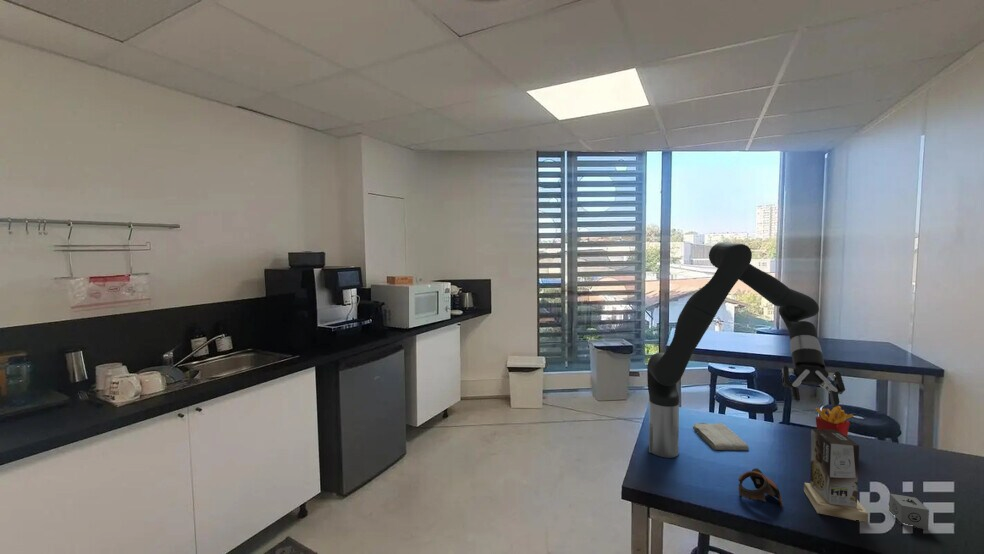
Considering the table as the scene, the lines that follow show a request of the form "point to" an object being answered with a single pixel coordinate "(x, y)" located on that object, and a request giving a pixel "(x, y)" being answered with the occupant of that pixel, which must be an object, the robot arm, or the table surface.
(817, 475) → the coffee box
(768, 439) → the table surface
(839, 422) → the french fries
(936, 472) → the table surface
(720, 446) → the washcloth
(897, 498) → the dice cube
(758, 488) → the pottery mug
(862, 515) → the riser
